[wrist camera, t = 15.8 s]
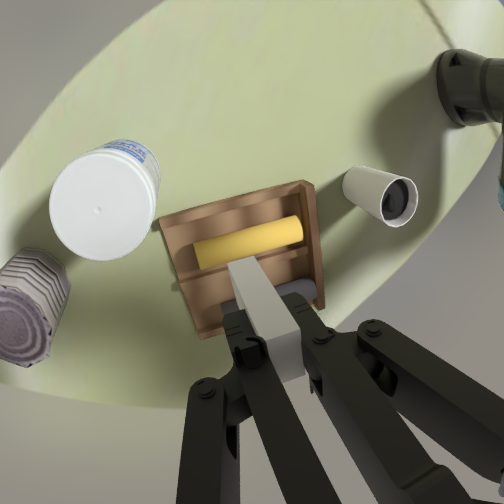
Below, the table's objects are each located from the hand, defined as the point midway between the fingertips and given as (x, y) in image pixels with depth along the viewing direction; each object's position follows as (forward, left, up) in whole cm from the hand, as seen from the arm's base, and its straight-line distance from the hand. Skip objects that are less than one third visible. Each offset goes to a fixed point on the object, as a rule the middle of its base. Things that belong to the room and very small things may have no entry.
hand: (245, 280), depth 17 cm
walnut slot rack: (-4, +12, -24) cm, 28 cm away
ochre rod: (-4, +9, -24) cm, 26 cm away
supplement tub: (+9, -4, -25) cm, 27 cm away
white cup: (-23, +5, -25) cm, 34 cm away
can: (+27, +6, -25) cm, 37 cm away
